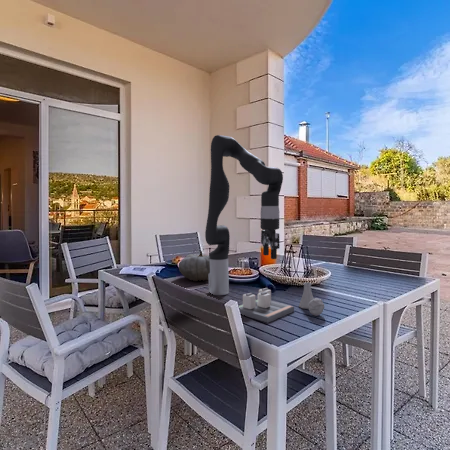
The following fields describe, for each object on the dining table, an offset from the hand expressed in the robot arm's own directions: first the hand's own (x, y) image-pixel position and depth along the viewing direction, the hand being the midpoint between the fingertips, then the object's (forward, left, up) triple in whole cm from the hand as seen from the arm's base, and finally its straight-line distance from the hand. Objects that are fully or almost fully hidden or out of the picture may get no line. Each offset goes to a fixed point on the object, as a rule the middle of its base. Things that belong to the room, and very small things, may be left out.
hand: (269, 257), depth 131 cm
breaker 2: (-4, +1, -20) cm, 20 cm away
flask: (+9, +13, -22) cm, 27 cm away
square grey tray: (0, -4, -22) cm, 22 cm away
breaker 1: (-4, -9, -20) cm, 22 cm away
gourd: (-64, +16, -22) cm, 70 cm away
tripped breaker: (0, -4, -20) cm, 20 cm away
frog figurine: (+17, +6, -22) cm, 29 cm away
